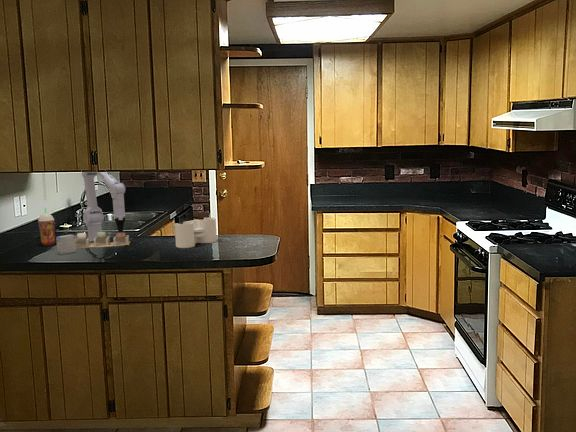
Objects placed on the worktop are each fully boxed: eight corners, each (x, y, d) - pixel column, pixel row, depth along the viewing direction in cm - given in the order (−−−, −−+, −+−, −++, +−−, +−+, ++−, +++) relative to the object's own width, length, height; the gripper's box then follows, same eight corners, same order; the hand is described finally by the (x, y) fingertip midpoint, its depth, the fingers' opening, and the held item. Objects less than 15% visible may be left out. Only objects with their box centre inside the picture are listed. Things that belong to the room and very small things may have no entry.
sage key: (98, 239, 327) (97, 231, 326) (106, 238, 328) (105, 231, 327) (96, 240, 323) (96, 233, 322) (105, 240, 323) (104, 232, 323)
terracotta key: (117, 240, 329) (116, 233, 328) (126, 239, 329) (125, 232, 329) (116, 241, 324) (116, 234, 324) (125, 241, 325) (124, 233, 324)
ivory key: (78, 240, 325) (77, 233, 325) (87, 240, 326) (86, 232, 325) (77, 242, 321) (76, 234, 320) (85, 241, 322) (85, 233, 321)
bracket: (187, 248, 307) (185, 224, 306) (173, 247, 313) (171, 223, 311) (220, 240, 327) (219, 218, 326) (207, 239, 333) (206, 217, 331)
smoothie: (37, 245, 334) (34, 208, 332) (52, 242, 340) (48, 206, 338) (44, 246, 329) (41, 209, 326) (59, 244, 335) (56, 207, 332)
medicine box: (71, 251, 312) (70, 234, 311) (76, 252, 309) (75, 235, 308) (57, 253, 306) (55, 236, 305) (62, 254, 303) (60, 237, 302)
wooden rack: (76, 245, 329) (75, 237, 329) (130, 241, 334) (129, 234, 333) (72, 249, 317) (71, 241, 317) (128, 245, 322) (127, 238, 321)
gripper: (110, 205, 330) (111, 230, 332) (111, 208, 316) (113, 234, 318) (123, 204, 332) (125, 229, 334) (126, 207, 319) (127, 233, 320)
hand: (120, 231), depth 326 cm, fingers closed
